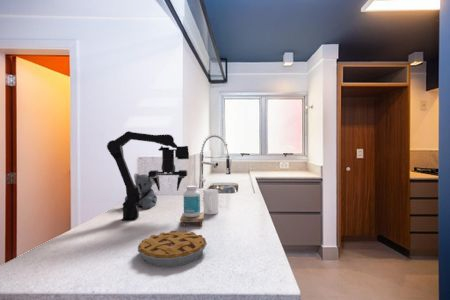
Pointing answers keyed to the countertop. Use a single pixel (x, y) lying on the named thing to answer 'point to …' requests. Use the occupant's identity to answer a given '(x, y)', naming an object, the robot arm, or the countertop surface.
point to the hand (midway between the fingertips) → (168, 190)
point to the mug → (210, 201)
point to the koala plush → (145, 191)
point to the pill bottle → (191, 202)
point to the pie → (172, 248)
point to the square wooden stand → (192, 219)
